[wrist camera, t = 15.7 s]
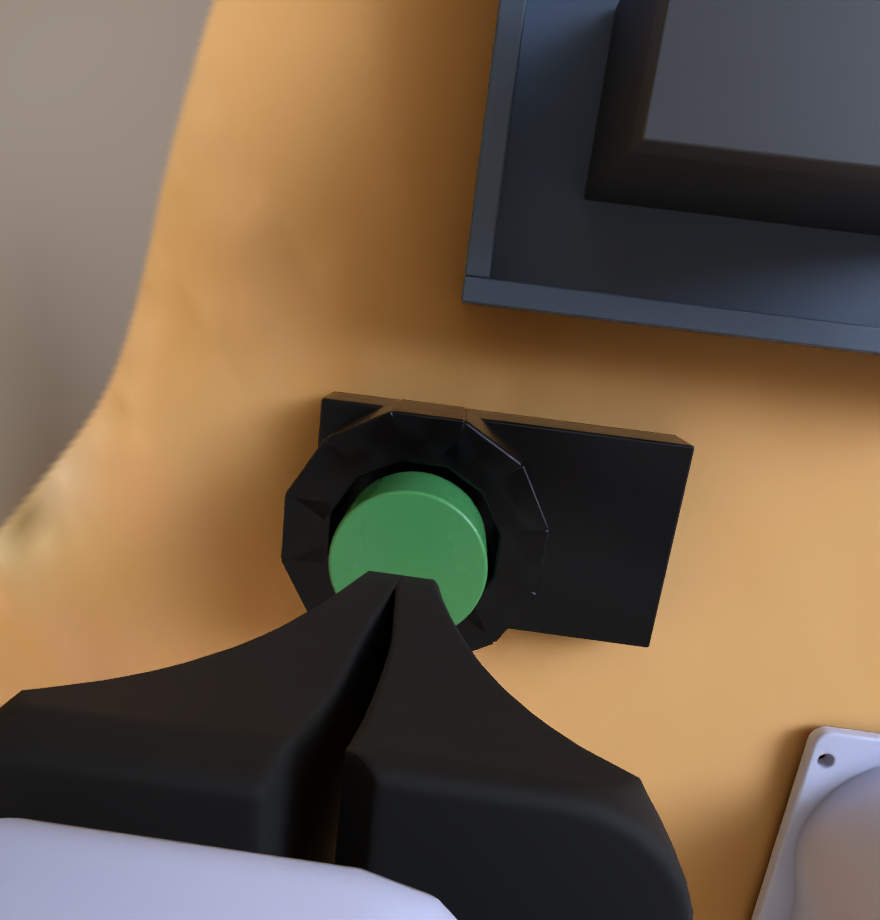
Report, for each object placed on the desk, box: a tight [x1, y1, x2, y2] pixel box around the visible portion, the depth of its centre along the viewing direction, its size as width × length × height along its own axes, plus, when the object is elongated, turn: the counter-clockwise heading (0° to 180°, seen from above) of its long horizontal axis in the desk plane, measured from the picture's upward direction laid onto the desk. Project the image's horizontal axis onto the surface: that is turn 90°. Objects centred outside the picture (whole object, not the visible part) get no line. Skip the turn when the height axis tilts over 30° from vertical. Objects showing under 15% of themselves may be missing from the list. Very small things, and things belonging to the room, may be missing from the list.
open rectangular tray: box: [461, 0, 880, 355], centre depth 14 cm, size 10×15×2 cm
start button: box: [328, 471, 488, 625], centre depth 14 cm, size 4×4×2 cm
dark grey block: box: [584, 0, 880, 236], centre depth 12 cm, size 5×10×6 cm, turn 83°
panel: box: [281, 392, 694, 651], centre depth 17 cm, size 6×10×4 cm, turn 83°
